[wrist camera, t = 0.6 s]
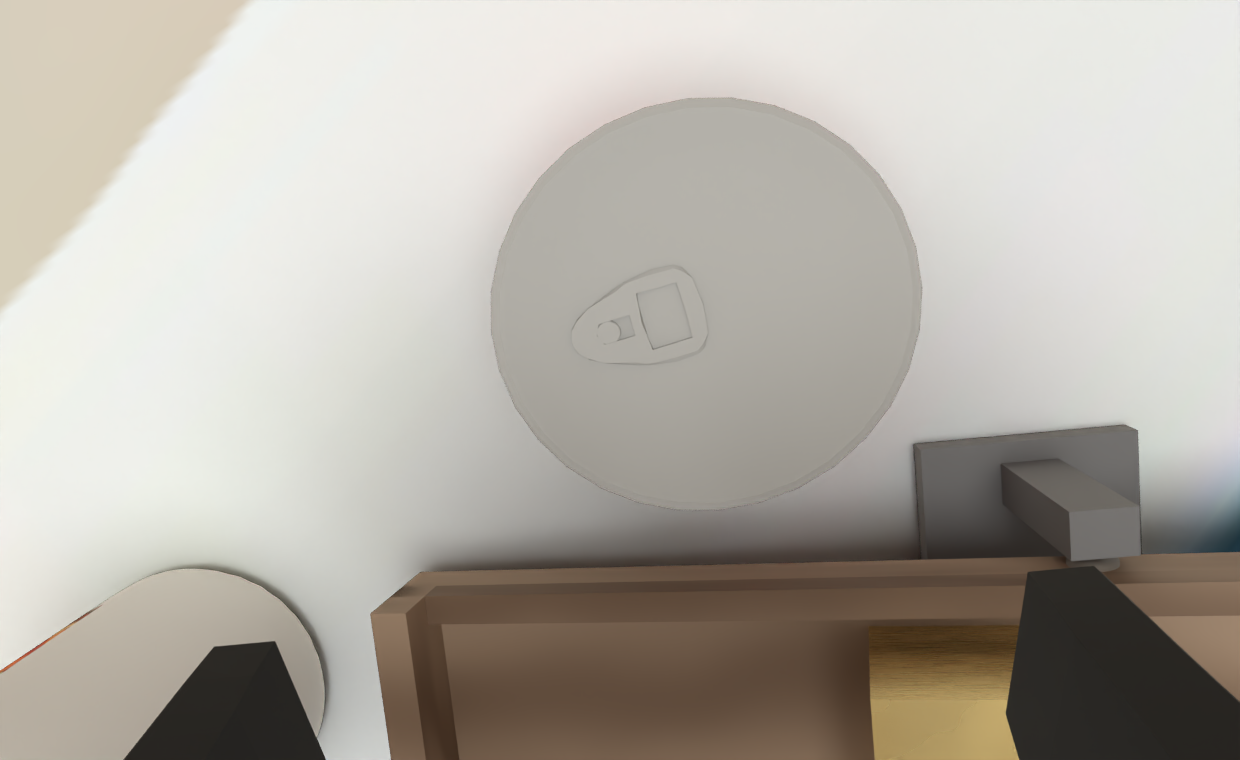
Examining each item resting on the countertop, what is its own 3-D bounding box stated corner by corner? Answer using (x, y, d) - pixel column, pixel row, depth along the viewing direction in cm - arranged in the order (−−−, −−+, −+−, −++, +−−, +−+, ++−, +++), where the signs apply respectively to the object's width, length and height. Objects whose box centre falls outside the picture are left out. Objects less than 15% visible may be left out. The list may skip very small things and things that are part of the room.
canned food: (501, 240, 30) (405, 249, 19) (740, 85, 29) (785, -1, 18) (643, 461, 30) (630, 593, 19) (880, 318, 29) (1005, 373, 18)
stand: (1136, 780, 31) (1243, 906, 25) (936, 795, 31) (996, 921, 26) (1125, 424, 29) (1235, 472, 24) (914, 444, 30) (972, 495, 24)
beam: (1764, 823, 23) (1903, 917, 20) (449, 785, 31) (404, 849, 28) (1782, 534, 22) (1930, 587, 19) (420, 568, 30) (369, 609, 27)
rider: (1088, 778, 25) (1129, 880, 21) (879, 773, 26) (882, 870, 23) (1082, 624, 25) (1122, 701, 21) (868, 626, 26) (870, 699, 22)
